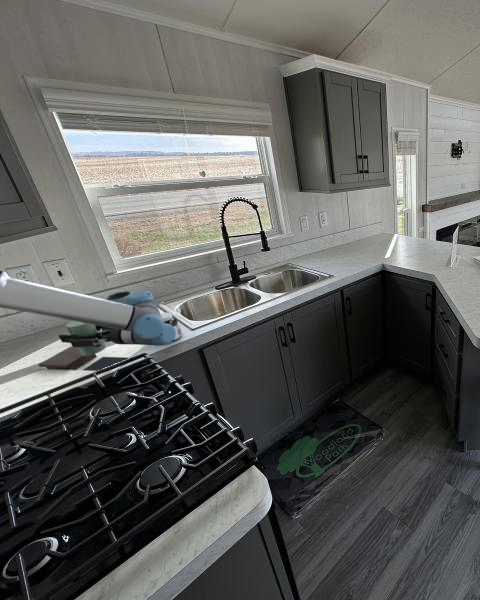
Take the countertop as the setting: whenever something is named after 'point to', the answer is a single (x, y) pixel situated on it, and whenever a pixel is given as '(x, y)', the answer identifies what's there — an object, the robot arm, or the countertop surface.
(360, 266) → the countertop surface
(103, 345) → the sage green cylinder
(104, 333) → the robot arm
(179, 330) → the spread jar
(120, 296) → the blue plant pot
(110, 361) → the mat
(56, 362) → the stand
